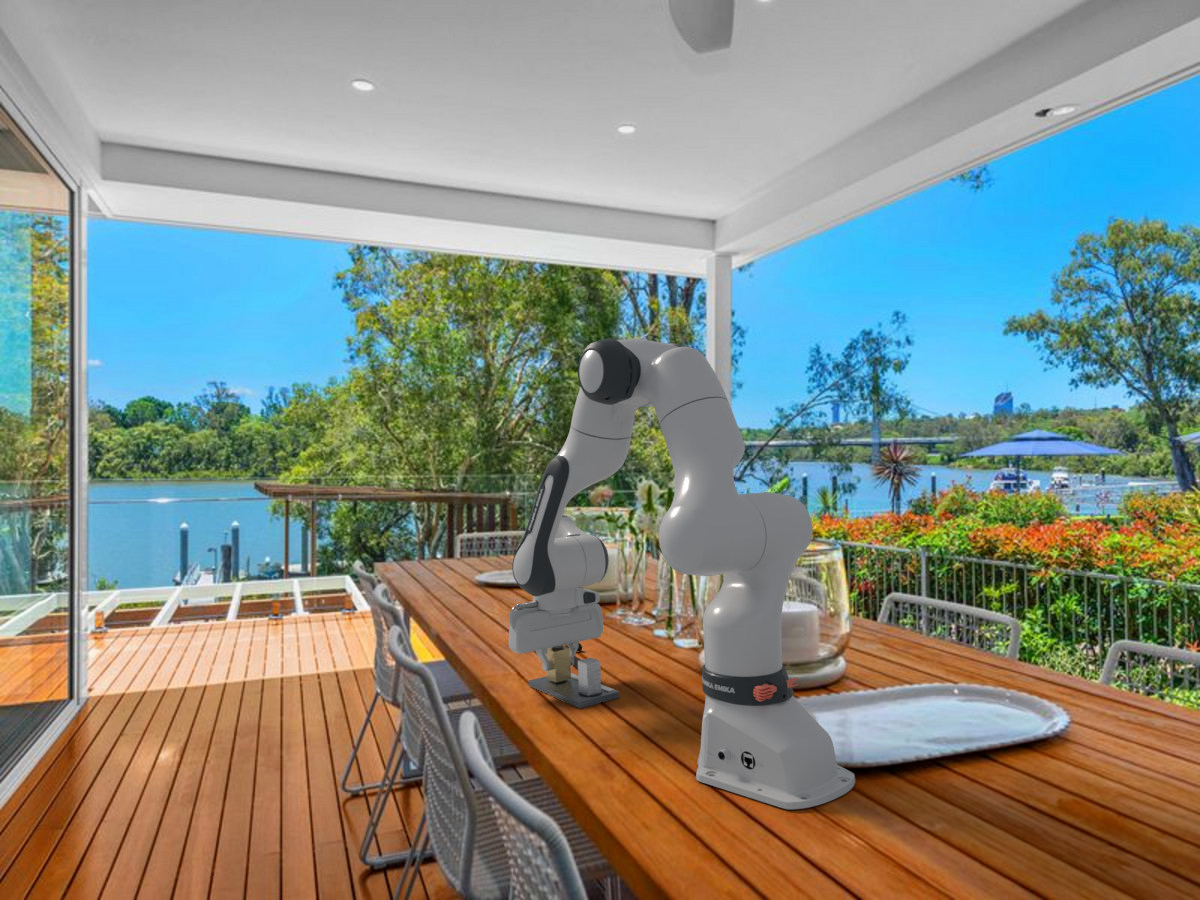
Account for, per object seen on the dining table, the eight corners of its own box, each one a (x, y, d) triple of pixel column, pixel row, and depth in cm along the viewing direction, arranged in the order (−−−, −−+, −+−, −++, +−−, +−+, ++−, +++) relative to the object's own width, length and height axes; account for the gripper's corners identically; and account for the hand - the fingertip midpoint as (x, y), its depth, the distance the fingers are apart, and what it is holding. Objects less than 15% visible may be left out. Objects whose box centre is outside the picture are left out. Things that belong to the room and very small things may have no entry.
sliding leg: (571, 678, 155) (569, 642, 155) (556, 682, 153) (554, 645, 153) (561, 675, 158) (560, 639, 158) (546, 678, 156) (545, 642, 156)
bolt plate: (619, 697, 147) (617, 659, 147) (579, 708, 142) (577, 668, 142) (566, 677, 162) (565, 642, 162) (528, 686, 156) (527, 650, 156)
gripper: (517, 607, 147) (520, 681, 147) (606, 592, 159) (609, 661, 159) (501, 603, 152) (504, 674, 152) (588, 588, 164) (591, 655, 164)
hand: (558, 667), depth 156 cm, fingers closed on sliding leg, 3 cm apart
